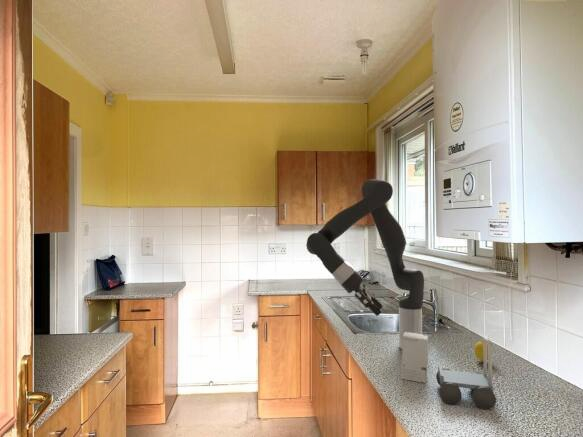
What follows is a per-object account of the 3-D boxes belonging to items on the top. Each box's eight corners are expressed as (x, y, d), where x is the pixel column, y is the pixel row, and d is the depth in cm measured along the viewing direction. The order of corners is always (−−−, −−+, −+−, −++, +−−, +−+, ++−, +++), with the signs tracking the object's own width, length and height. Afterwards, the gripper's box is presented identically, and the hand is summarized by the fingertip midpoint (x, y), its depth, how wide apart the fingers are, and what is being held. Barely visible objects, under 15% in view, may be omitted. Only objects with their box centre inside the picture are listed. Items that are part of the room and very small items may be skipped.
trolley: (436, 385, 122) (436, 329, 121) (487, 391, 117) (486, 333, 117) (439, 403, 110) (439, 341, 110) (496, 410, 106) (496, 345, 105)
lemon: (482, 365, 138) (482, 344, 138) (471, 360, 143) (471, 339, 143) (494, 363, 139) (494, 342, 139) (483, 358, 144) (483, 338, 144)
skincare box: (401, 379, 126) (400, 335, 126) (403, 372, 132) (403, 330, 132) (427, 383, 123) (427, 339, 123) (428, 376, 128) (428, 333, 128)
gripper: (352, 272, 126) (387, 308, 123) (357, 267, 140) (388, 299, 136) (336, 287, 128) (370, 323, 124) (343, 280, 141) (373, 313, 138)
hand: (380, 311), depth 130 cm, fingers open, 8 cm apart
